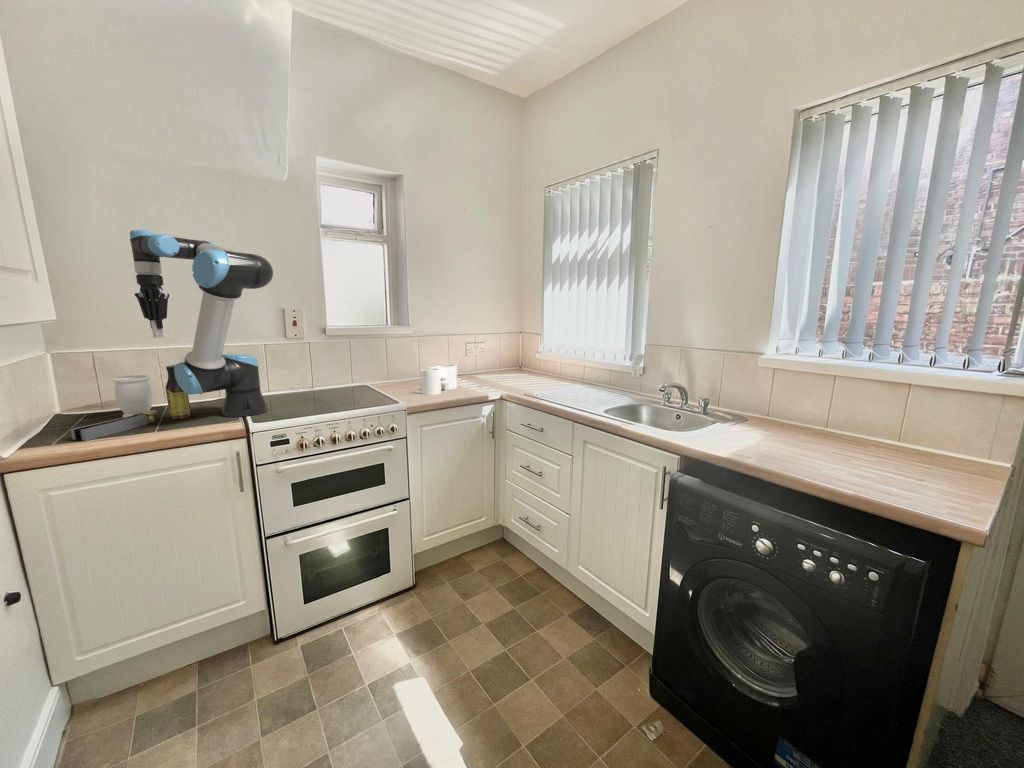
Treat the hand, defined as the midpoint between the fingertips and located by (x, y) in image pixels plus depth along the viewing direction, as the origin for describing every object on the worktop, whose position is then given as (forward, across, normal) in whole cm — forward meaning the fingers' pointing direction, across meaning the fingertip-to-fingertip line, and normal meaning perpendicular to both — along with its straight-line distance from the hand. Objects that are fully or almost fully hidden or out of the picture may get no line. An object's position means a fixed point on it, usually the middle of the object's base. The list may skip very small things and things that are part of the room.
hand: (158, 337), depth 159 cm
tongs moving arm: (+29, -7, +24) cm, 38 cm away
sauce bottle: (+30, -13, +7) cm, 33 cm away
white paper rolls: (+30, -91, -64) cm, 115 cm away
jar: (+30, +5, +8) cm, 31 cm away
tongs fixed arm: (+29, -8, +24) cm, 39 cm away
